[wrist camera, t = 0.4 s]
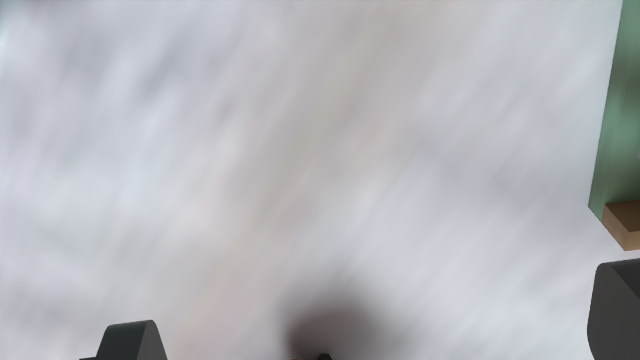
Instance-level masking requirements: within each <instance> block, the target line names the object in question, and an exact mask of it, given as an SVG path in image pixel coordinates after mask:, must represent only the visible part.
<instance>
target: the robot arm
mask: <svg viewBox="0 0 640 360" xmlns="http://www.w3.org/2000/svg"><path fill="white" fill-rule="evenodd" d="M587 336H588V342H589V346H590V349H591V352H592V355H593V357H594V359H595V360H640V258H638V259H630V260H622V261H615V262H607V263H602V264H600V265H599V266H598V267H597V270H596V274H595V280H594V286H593V293H592V299H591V305H590V312H589V318H588V324H587ZM79 360H167V357H166V354H165V350H164V347H163V344H162V341H161V338H160V335H159V332H158V329H157V326H156V324H155V322H154V321H153V320H145V321H137V322H130V323H122V324H114V325H110V326H108V327H107V329H106V330H105V333H104V335H103V338H102V341H101V344H100V347H99V349H98V352H97V355H96V357H91V358H83V359H79Z"/></svg>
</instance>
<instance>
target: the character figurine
mask: <svg viewBox="0 0 640 360" xmlns="http://www.w3.org/2000/svg"><path fill="white" fill-rule="evenodd" d="M292 360H306V359H292ZM319 360H332V358H331V357H330V355H329V354H322V355H320V358H319Z"/></svg>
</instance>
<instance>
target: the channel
mask: <svg viewBox="0 0 640 360" xmlns="http://www.w3.org/2000/svg"><path fill="white" fill-rule="evenodd" d="M639 147H640V0H623V6H622V11H621V17H620V23H619V29H618V35H617V41H616V46H615V52H614V58H613V64H612V70H611V76H610V81H609V87H608V93H607V99H606V105H605V110H604V116H603V122H602V128H601V134H600V140H599V145H598V151H597V157H596V163H595V169H594V175H593V180H592V186H591V192H590V198H589V204H588V207H589V208H590V210H591V211H592V212H593V213H594V214H595V216H596V217H597V218H598V219H599V221H600V222H601V223H602V224H603V225H604V227H605V228H606V229H607V230H608V231H609V233H610V234H611V235H612V236H613V237H614V239H615V240H616V241H617V242H618V244H619V245H620V246H621V247H622V248H623V250H624V251H630V250H638V249H640V159H639V158H638V157H637V156H638V151H639Z"/></svg>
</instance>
